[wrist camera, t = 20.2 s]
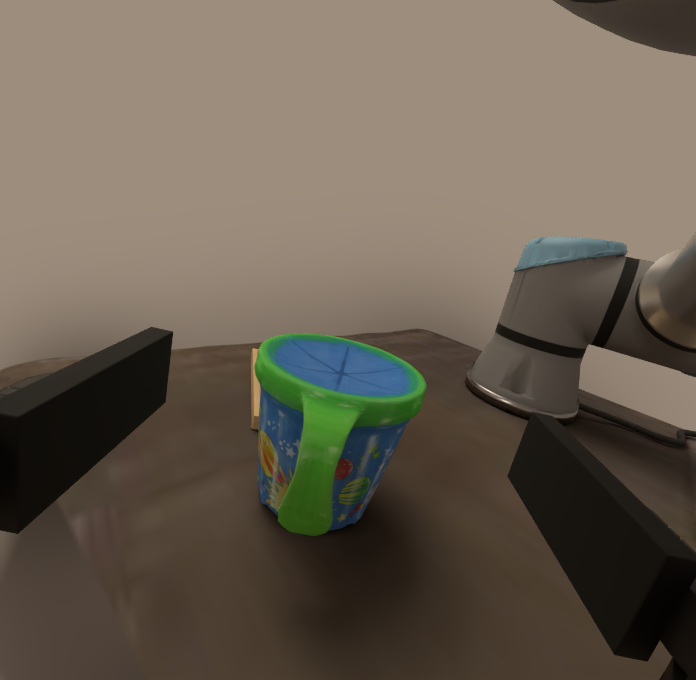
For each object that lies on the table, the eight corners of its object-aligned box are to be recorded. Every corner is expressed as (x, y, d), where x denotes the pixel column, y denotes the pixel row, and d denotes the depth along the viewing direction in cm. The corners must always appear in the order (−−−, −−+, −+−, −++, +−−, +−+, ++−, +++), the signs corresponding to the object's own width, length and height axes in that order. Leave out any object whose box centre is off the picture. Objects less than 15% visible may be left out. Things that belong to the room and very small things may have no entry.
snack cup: (371, 627, 19) (429, 444, 17) (174, 556, 21) (199, 376, 18) (394, 461, 34) (427, 350, 32) (279, 426, 36) (301, 317, 33)
